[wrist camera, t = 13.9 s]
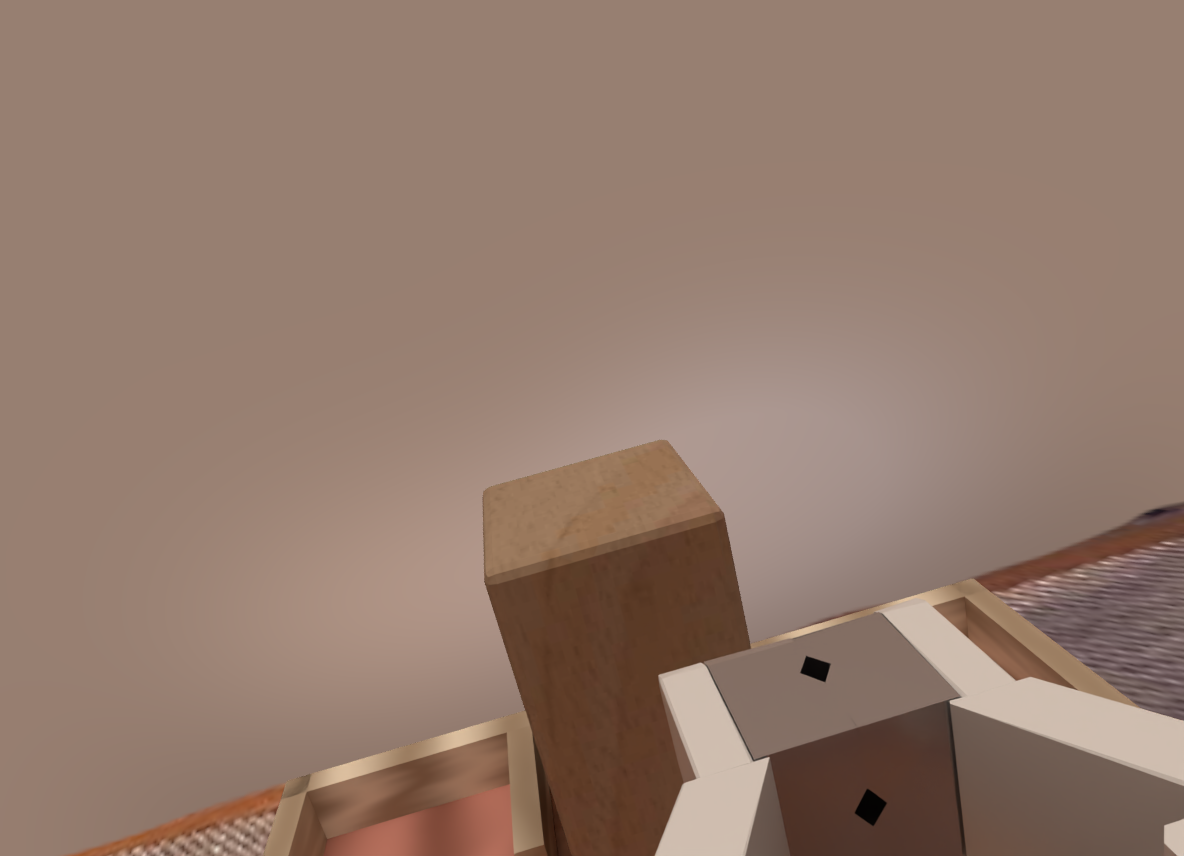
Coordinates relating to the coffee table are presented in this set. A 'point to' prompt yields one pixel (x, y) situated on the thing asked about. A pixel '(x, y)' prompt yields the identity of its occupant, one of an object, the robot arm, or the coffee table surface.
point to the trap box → (517, 778)
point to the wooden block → (609, 628)
